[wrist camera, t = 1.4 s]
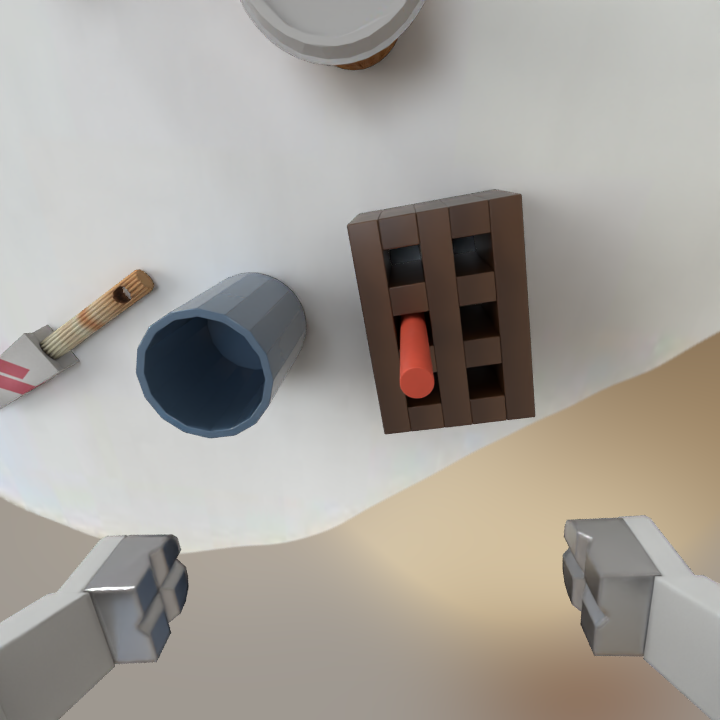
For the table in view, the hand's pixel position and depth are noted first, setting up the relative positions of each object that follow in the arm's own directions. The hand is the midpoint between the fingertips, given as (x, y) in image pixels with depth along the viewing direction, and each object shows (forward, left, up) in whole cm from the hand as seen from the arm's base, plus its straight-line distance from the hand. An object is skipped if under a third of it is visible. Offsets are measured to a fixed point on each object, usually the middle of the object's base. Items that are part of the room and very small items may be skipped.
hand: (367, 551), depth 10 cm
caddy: (-3, +2, -29) cm, 29 cm away
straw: (-1, +2, -29) cm, 29 cm away
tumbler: (+11, +2, -29) cm, 31 cm away
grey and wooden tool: (+28, +1, -29) cm, 40 cm away
